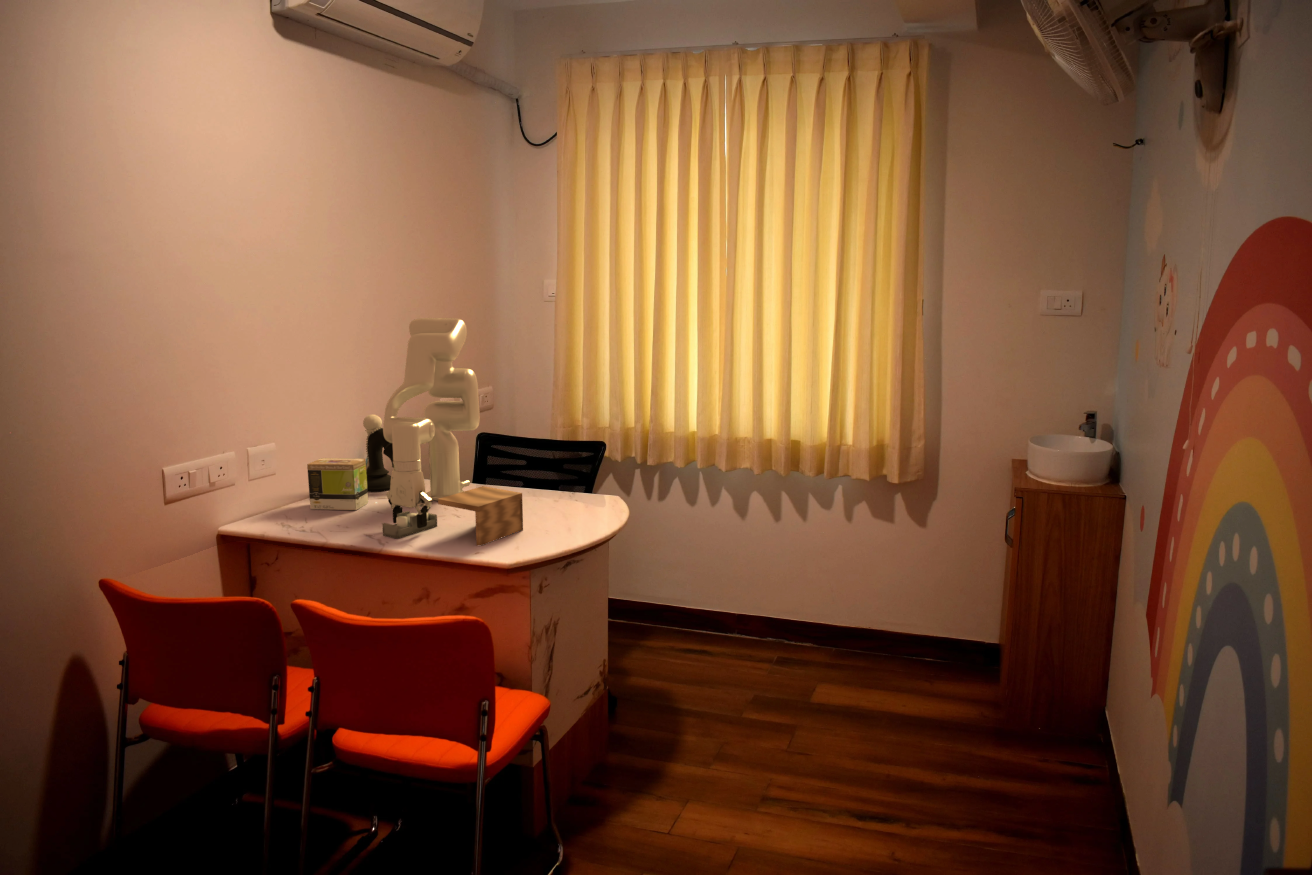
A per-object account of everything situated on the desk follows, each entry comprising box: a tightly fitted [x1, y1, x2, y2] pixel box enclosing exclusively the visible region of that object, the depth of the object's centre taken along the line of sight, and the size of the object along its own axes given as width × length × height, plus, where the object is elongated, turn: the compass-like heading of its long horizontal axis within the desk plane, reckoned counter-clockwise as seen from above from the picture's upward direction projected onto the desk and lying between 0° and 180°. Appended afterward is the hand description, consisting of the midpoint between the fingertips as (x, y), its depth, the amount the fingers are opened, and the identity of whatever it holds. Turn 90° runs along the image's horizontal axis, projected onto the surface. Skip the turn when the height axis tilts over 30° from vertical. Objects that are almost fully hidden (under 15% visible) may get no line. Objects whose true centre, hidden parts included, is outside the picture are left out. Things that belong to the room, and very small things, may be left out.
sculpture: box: [362, 414, 394, 493], centre depth 309 cm, size 15×24×25 cm, turn 68°
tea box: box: [306, 457, 369, 511], centre depth 286 cm, size 15×10×15 cm
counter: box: [437, 485, 524, 546], centre depth 258 cm, size 18×15×11 cm
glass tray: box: [381, 510, 438, 540], centre depth 261 cm, size 6×15×5 cm, turn 148°
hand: (410, 524), depth 261 cm, fingers open, 9 cm apart
